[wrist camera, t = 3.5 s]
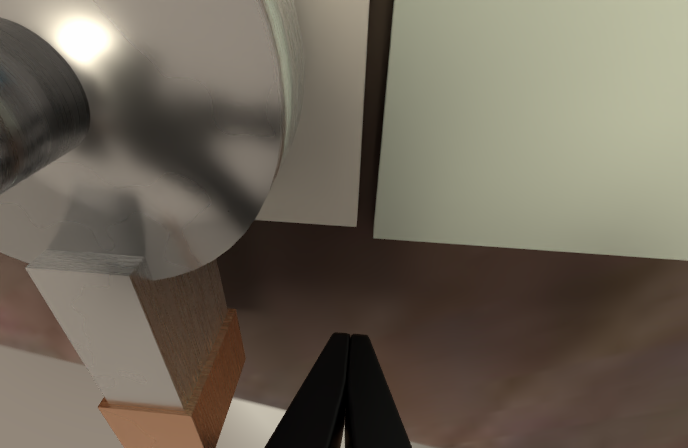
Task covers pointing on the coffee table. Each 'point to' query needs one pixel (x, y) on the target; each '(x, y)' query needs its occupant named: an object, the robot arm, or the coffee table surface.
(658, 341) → the coffee table surface
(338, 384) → the robot arm
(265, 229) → the coffee table surface
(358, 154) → the base
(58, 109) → the silver round handled piece
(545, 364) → the coffee table surface
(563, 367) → the coffee table surface
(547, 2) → the mat
